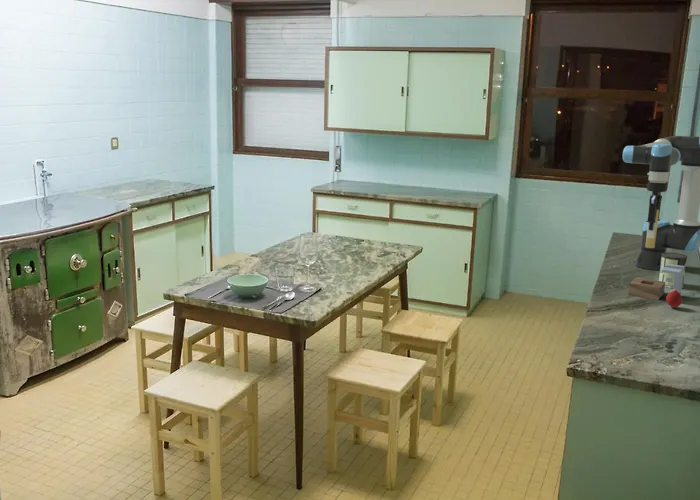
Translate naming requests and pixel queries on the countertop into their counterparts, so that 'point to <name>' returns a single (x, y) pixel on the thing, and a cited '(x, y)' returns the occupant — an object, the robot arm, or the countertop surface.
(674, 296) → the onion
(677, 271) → the light blue box
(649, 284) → the socket block
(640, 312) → the countertop surface
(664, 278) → the coffee can
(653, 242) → the peg
